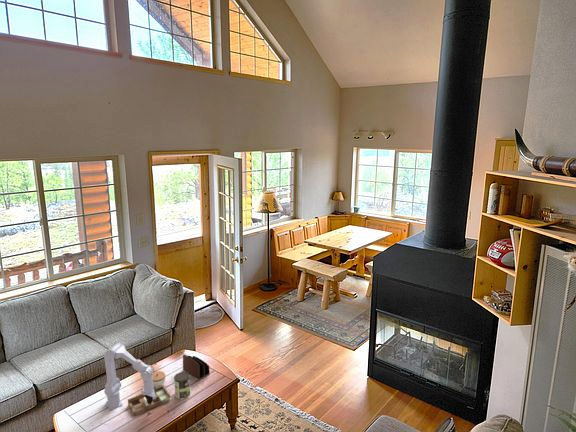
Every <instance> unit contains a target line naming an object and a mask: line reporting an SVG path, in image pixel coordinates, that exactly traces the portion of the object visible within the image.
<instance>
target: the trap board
mask: <svg viewBox="0 0 576 432" xmlns="http://www.w3.org/2000/svg"><path fill="white" fill-rule="evenodd" d="M165 387H166V386H164V385H162V386H160V387H158V388H153V389H154V392H155V395H156V398H155V399H153V400H152V404H150V405H148V406H146V405H145V404H144V397H145V396H144V395H143V393H141V394H138V395H136V396H134V397H131V398H129V399H127V404H128V405H127V406H128V407H129V409H130V411H131V413H132V415H133V416H137V415H139V414H141V413H145V412H146V411H149V410H151V409H154V408H156V407H158V406H160V405H162V404H165V403H167V402H169V401H171V394H170V393H169V391H168V390H167V389H166V388H165ZM155 401H156V402H155Z"/></svg>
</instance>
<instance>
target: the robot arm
mask: <svg viewBox="0 0 576 432" xmlns="http://www.w3.org/2000/svg"><path fill="white" fill-rule="evenodd" d="M103 358H104V365H105V366H104V367H105V372H106V380H107V381H106V383H105V385H104V390H103V392H104V394H105V395H106V401H105V403H106V406H107V408H108V410H109V411H111V410H114V409H116V408H119V407H122V406H123V402H122V401H121V396H120V390H121V387H122V382H121V380H120V378H119V377H117V371H116V364H115V359H116V360H117V359H121V358H122V359H123V360H125V361H127V362H128V363H129V364H131V367H132V368H133V369H134V370H136V371H137V372H138V373H139V374H140V377H141V378H142V381H143V382H142V383H143V386H141V390H142V391H143V392H142V394H143V395H144V396H145V398H146V400H147V403H148V404H151V403H152V400H153V399H155V398H156V395H155V392H154V389H155V388H154V387H153V376H152V373H154V372H155V370H154V367H153V365H149V364H146V363H145V362H143V361H142V360H141V359H139V358H138V359H137V358H135V357H134V356H133V355H132V354H131V353H129V351H128V350H126V346H125V345H123V344H122V343H121V342H116V343H115V344H113V345H112V346H111V347H110V348H109V349H107V350H106V351H105V352H104V357H103Z"/></svg>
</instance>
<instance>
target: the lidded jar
mask: <svg viewBox="0 0 576 432" xmlns="http://www.w3.org/2000/svg"><path fill="white" fill-rule="evenodd" d="M152 376H153V389H155V388H158V387H160V386H164V384H165V381H166V373H165V372H164V371H161V370H160V371H154V372H153V373H152Z"/></svg>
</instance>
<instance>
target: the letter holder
mask: <svg viewBox="0 0 576 432" xmlns="http://www.w3.org/2000/svg"><path fill="white" fill-rule="evenodd" d="M182 370H183V372H187V373H189V375H190V376H192V377H193V378H195V379H196V380H198V381H201V380H202V379H204V378H206V377H208V376H209V375H211V374H210V372H211V371H210V365H209V364H208V363H207V362H205V361H204V360H202V359H201V358H199V357H197V356H194V355H193V356H191V355H186V354H182ZM207 375H208V376H207Z"/></svg>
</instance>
